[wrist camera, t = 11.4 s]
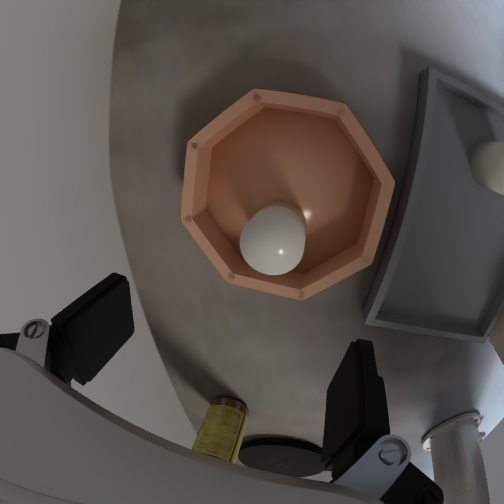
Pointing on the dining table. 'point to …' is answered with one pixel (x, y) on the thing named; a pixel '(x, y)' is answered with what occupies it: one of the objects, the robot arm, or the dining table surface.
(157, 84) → the dining table surface
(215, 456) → the sauce bottle
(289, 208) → the pebble
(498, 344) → the teacup with lid
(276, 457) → the wireless charger
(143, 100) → the dining table surface
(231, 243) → the bowl
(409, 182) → the parts tray
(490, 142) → the pebble
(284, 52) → the dining table surface
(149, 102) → the dining table surface
